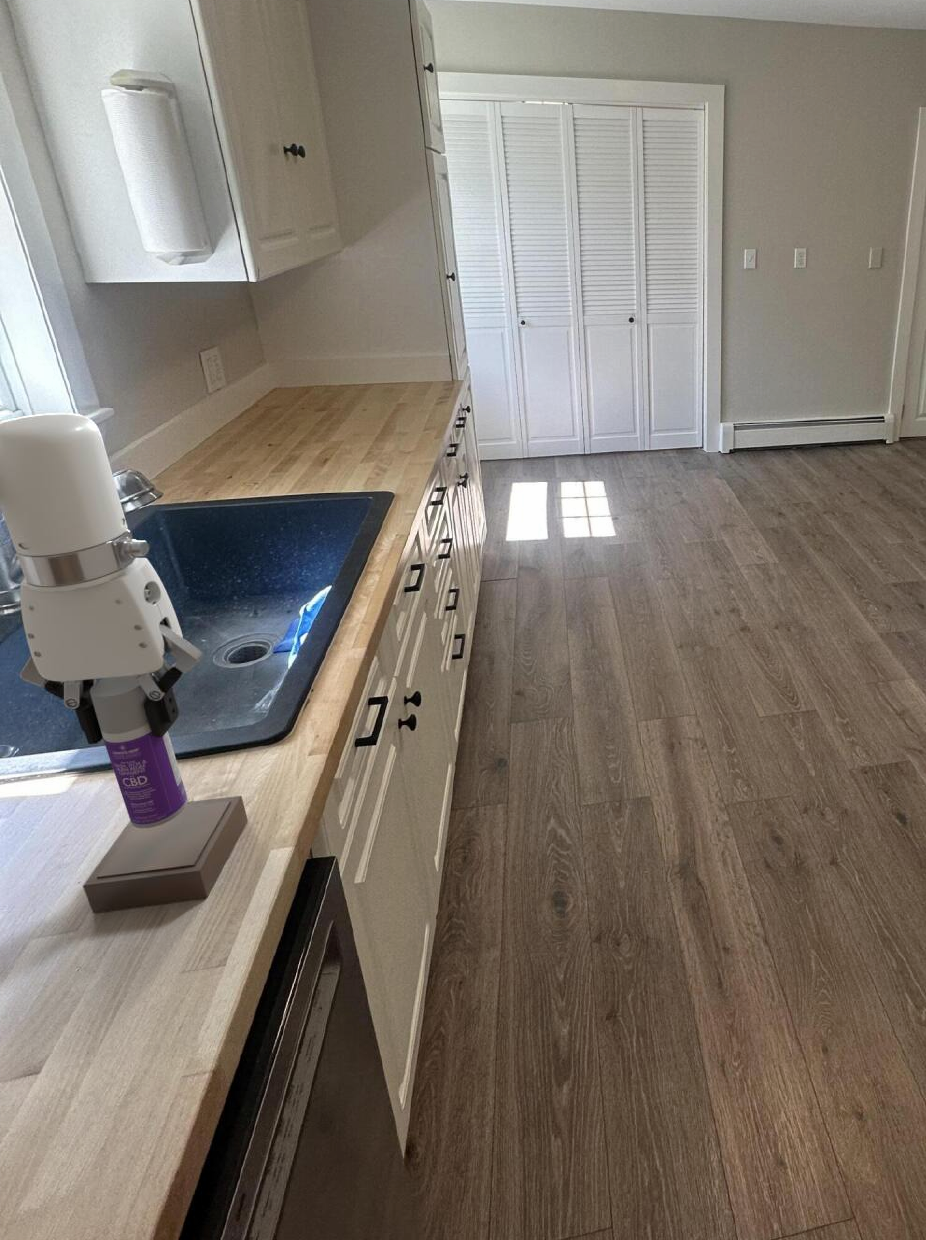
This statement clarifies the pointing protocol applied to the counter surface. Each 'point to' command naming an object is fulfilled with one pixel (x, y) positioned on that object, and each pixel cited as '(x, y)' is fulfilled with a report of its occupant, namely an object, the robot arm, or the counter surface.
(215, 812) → the riser
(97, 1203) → the counter surface
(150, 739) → the container
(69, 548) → the robot arm
